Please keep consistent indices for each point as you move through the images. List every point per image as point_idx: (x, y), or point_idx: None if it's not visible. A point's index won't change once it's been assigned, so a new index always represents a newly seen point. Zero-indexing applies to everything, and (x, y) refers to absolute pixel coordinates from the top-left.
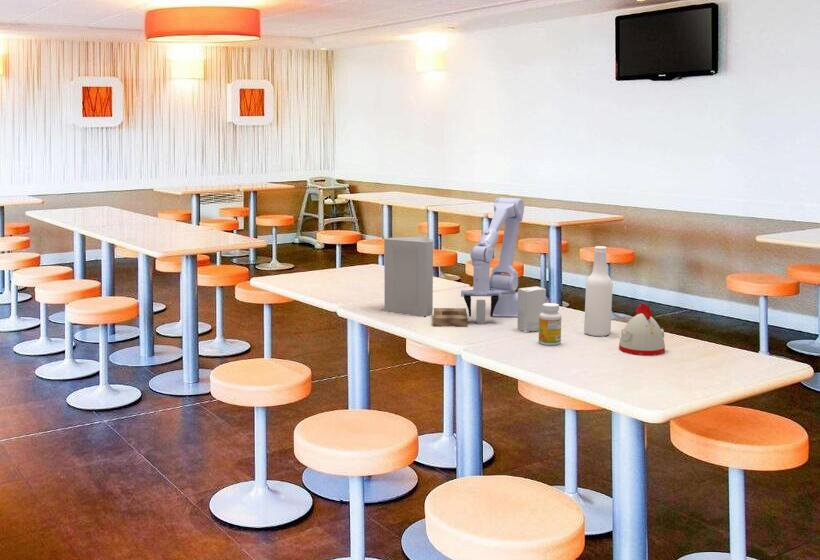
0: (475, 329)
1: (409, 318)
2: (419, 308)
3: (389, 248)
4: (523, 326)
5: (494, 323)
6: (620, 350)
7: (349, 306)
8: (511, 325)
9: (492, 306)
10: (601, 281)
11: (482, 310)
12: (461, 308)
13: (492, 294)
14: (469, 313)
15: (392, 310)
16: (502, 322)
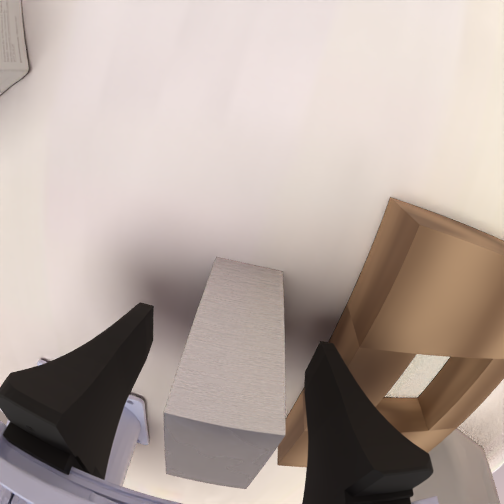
0: (356, 83)
1: (501, 397)
2: (462, 450)
3: None
4: (1, 9)
5: (142, 268)
6: None
7: (494, 464)
8: (45, 190)
9: (99, 357)
10: None
11: (223, 341)
12: (301, 465)
13: (60, 483)
14: (340, 358)
15: (480, 450)
16: (92, 284)
